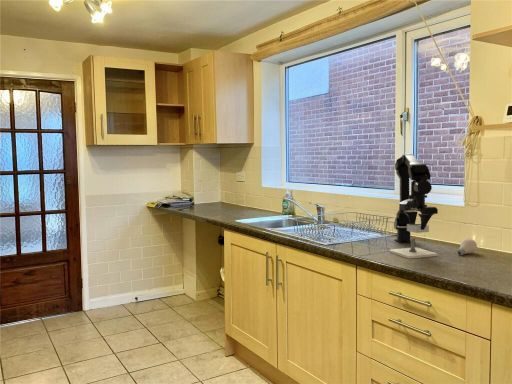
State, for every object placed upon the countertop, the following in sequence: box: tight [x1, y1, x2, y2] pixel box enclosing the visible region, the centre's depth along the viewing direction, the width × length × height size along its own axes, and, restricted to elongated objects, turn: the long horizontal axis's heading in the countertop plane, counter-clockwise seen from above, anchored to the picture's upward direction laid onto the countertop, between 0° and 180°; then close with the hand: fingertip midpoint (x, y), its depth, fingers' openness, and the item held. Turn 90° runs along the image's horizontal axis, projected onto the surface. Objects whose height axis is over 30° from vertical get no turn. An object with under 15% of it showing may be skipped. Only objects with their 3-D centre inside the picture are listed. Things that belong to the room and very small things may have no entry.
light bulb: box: [456, 238, 478, 256], centre depth 198 cm, size 7×7×11 cm
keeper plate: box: [388, 238, 438, 259], centre depth 199 cm, size 14×14×6 cm
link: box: [407, 222, 430, 234], centre depth 201 cm, size 6×6×3 cm
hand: (417, 228), depth 201 cm, fingers closed on link, 6 cm apart
